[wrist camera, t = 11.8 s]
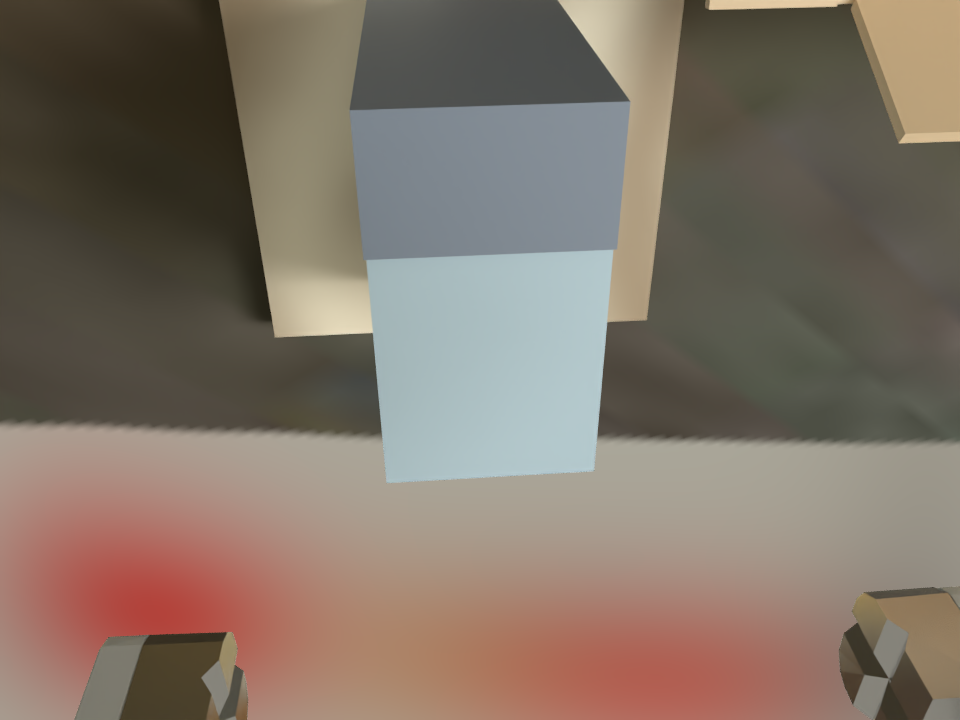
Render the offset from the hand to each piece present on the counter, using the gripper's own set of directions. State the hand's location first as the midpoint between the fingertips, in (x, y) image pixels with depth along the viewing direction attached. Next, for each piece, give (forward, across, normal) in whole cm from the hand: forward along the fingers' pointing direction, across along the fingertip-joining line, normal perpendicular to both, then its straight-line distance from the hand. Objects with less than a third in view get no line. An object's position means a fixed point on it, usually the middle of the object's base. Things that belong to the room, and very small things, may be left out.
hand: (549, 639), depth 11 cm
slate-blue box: (+18, 0, 0) cm, 18 cm away
